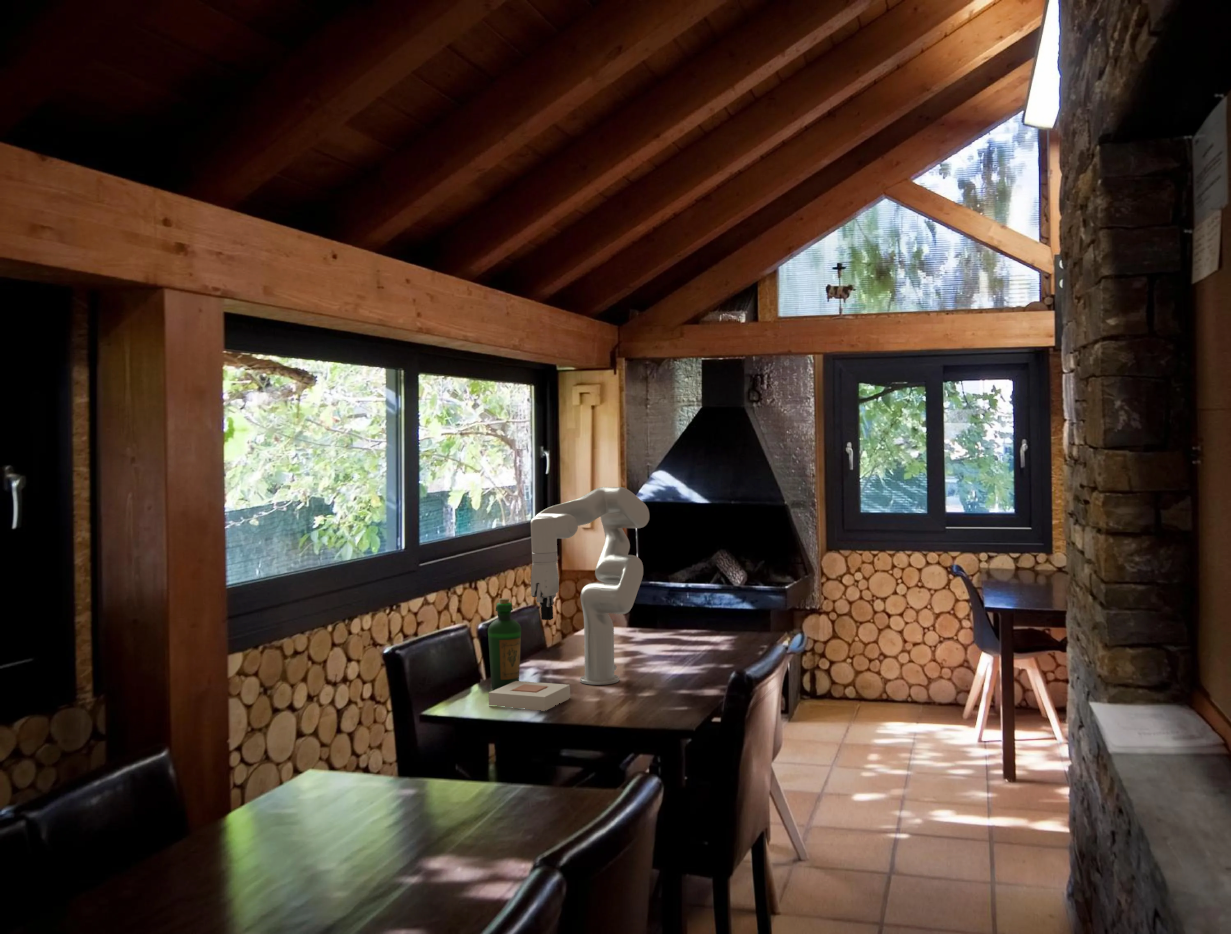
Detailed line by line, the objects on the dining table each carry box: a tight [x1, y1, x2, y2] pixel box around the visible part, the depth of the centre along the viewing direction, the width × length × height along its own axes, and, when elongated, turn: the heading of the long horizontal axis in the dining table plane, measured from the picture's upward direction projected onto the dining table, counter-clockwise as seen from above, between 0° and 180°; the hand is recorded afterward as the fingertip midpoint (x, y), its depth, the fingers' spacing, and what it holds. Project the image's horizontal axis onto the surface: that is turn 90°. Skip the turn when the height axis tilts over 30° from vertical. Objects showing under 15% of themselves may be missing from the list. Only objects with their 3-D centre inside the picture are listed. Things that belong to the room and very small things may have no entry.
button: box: [512, 684, 547, 693], centre depth 300 cm, size 8×8×4 cm
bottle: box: [487, 597, 522, 690], centre depth 319 cm, size 11×11×28 cm
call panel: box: [488, 680, 571, 712], centre depth 300 cm, size 17×18×4 cm
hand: (547, 619), depth 304 cm, fingers closed
